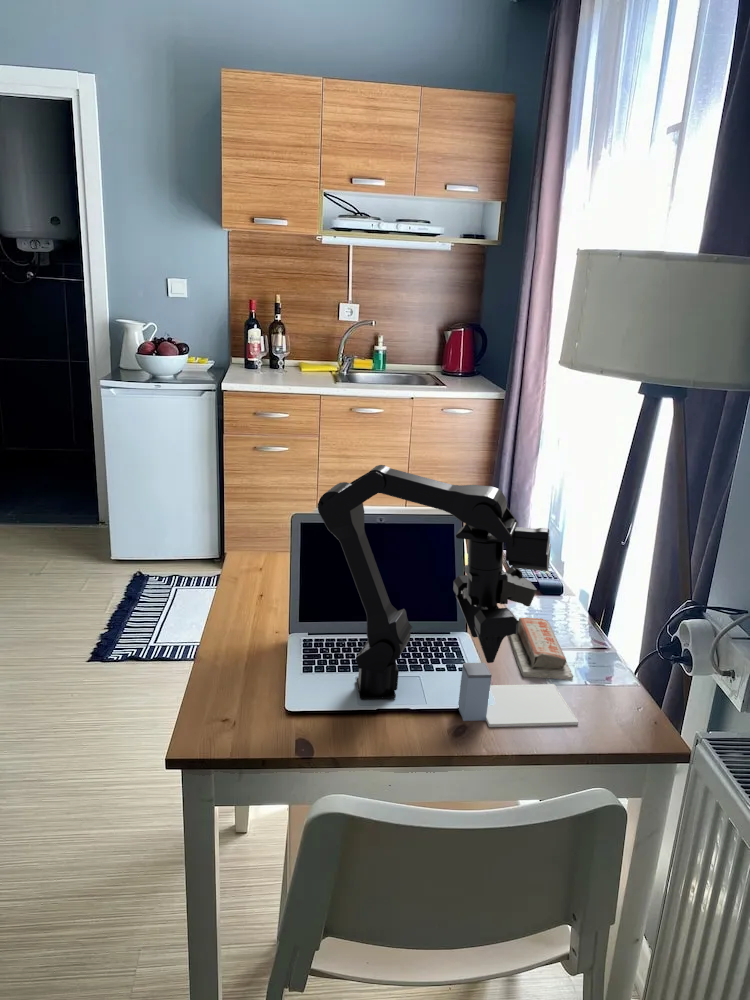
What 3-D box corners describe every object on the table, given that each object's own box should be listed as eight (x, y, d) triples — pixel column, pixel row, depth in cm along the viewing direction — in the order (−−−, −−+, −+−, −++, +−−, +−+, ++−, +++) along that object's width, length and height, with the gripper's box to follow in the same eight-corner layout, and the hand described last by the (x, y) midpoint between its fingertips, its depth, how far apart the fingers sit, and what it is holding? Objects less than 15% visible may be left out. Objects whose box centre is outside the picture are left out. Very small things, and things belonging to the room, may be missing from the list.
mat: (488, 727, 130) (489, 724, 130) (471, 688, 142) (471, 685, 142) (577, 724, 133) (578, 721, 133) (553, 687, 144) (554, 684, 144)
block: (463, 720, 132) (468, 675, 129) (458, 707, 136) (463, 662, 133) (485, 720, 132) (491, 674, 130) (479, 707, 136) (485, 662, 133)
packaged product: (509, 613, 162) (555, 616, 163) (506, 634, 164) (552, 636, 164) (524, 656, 145) (576, 660, 146) (521, 679, 147) (573, 682, 147)
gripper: (552, 582, 118) (547, 672, 122) (514, 541, 136) (511, 621, 140) (482, 587, 116) (479, 678, 121) (453, 545, 134) (451, 626, 139)
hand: (482, 649), depth 130 cm, fingers open, 9 cm apart
